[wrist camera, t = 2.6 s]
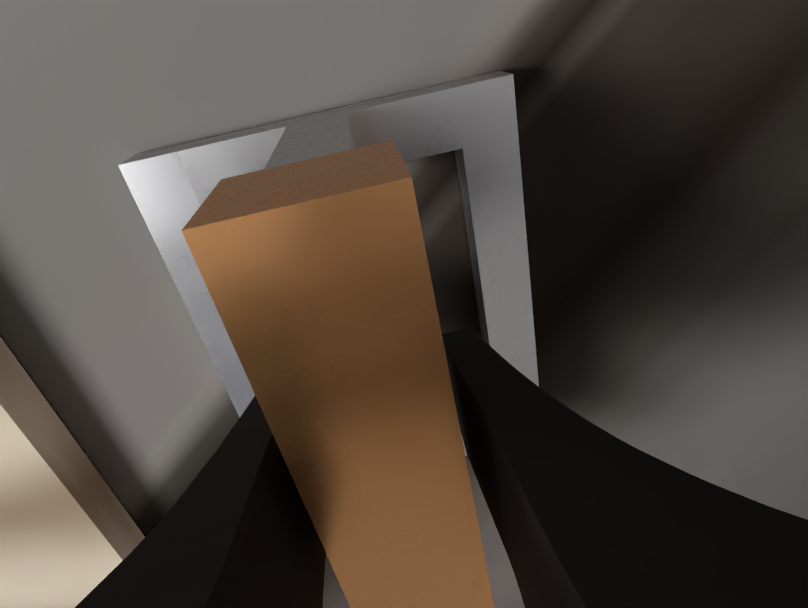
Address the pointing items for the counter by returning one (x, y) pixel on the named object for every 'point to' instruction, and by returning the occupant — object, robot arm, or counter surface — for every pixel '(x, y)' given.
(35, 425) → the board
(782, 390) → the counter surface
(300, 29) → the counter surface
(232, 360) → the grey and tan frame
